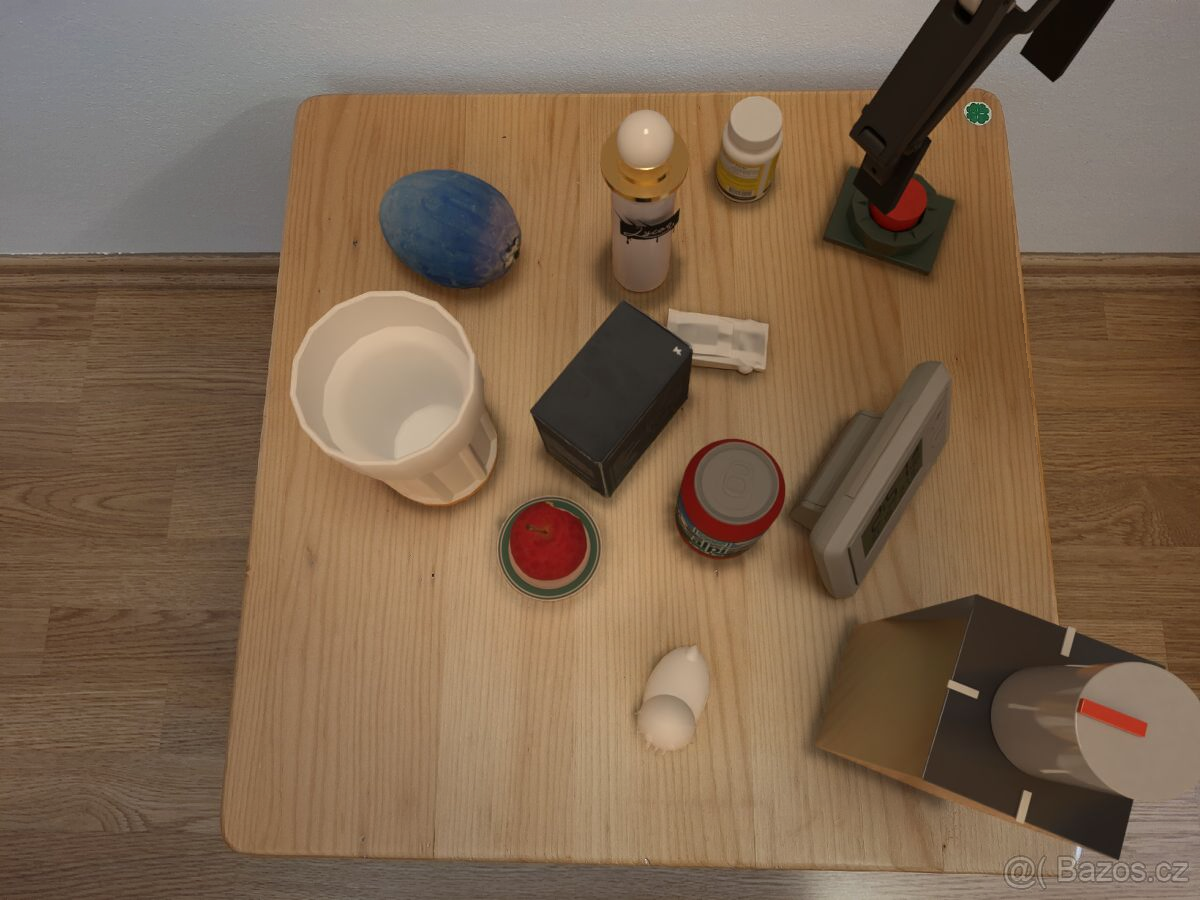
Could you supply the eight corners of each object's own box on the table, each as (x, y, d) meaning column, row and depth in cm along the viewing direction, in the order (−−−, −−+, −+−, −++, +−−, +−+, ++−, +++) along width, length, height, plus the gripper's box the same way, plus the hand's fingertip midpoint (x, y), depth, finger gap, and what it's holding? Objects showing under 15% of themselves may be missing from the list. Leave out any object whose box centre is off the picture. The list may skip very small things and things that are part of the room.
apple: (489, 508, 69) (476, 490, 62) (591, 488, 69) (588, 468, 63) (507, 611, 67) (494, 603, 60) (612, 590, 67) (610, 580, 60)
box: (624, 350, 72) (623, 294, 62) (690, 397, 70) (700, 349, 60) (540, 450, 70) (526, 411, 60) (607, 501, 69) (603, 469, 58)
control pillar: (974, 672, 64) (1171, 665, 41) (937, 798, 62) (1123, 865, 39) (852, 624, 66) (976, 590, 42) (812, 746, 64) (919, 781, 40)
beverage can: (661, 543, 68) (668, 513, 56) (690, 462, 69) (702, 417, 58) (747, 573, 67) (772, 550, 55) (773, 490, 68) (803, 451, 57)
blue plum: (528, 261, 63) (349, 182, 65) (520, 346, 70) (359, 272, 72) (584, 198, 68) (416, 127, 71) (571, 283, 75) (419, 216, 77)
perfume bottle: (598, 247, 74) (589, 92, 55) (666, 232, 74) (680, 72, 55) (614, 309, 73) (610, 173, 53) (683, 294, 73) (703, 152, 53)
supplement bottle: (753, 145, 76) (768, 80, 68) (782, 188, 75) (800, 128, 67) (704, 169, 76) (713, 107, 68) (732, 213, 74) (745, 155, 66)
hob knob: (1113, 691, 41) (1231, 692, 33) (1086, 798, 40) (1201, 826, 32) (1006, 649, 42) (1097, 640, 34) (977, 753, 41) (1063, 770, 33)
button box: (952, 204, 74) (963, 188, 72) (928, 276, 73) (938, 262, 70) (848, 170, 75) (856, 152, 73) (822, 240, 74) (829, 225, 71)
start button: (926, 196, 72) (933, 184, 70) (911, 238, 71) (918, 227, 69) (878, 180, 73) (884, 168, 71) (863, 221, 72) (869, 210, 70)
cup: (525, 394, 71) (494, 303, 54) (496, 532, 68) (453, 482, 51) (388, 371, 72) (315, 275, 55) (353, 507, 69) (265, 449, 52)
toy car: (668, 314, 72) (669, 302, 70) (767, 324, 72) (771, 312, 70) (662, 368, 71) (663, 358, 69) (763, 378, 71) (767, 368, 68)
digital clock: (833, 612, 66) (872, 599, 56) (744, 526, 68) (765, 498, 57) (976, 463, 68) (1038, 424, 58) (886, 384, 70) (931, 332, 60)
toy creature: (622, 738, 64) (621, 744, 58) (663, 634, 66) (667, 629, 60) (681, 765, 63) (687, 773, 57) (721, 658, 65) (731, 656, 59)
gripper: (1319, -456, 34) (1060, -27, 55) (840, -113, 31) (755, 208, 51) (1485, -349, 33) (1154, 52, 53) (999, 26, 29) (846, 301, 49)
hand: (958, 129), depth 52 cm, fingers open, 13 cm apart
